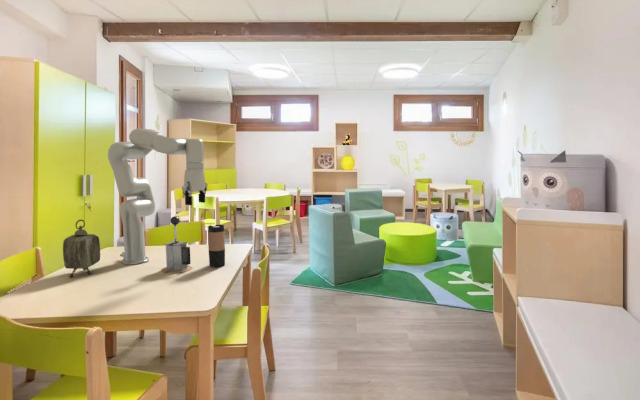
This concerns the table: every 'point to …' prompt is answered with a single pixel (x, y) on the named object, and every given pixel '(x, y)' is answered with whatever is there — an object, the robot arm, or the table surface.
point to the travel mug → (216, 246)
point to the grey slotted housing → (177, 256)
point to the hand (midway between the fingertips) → (195, 203)
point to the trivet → (176, 272)
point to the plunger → (175, 221)
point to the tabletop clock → (81, 250)
